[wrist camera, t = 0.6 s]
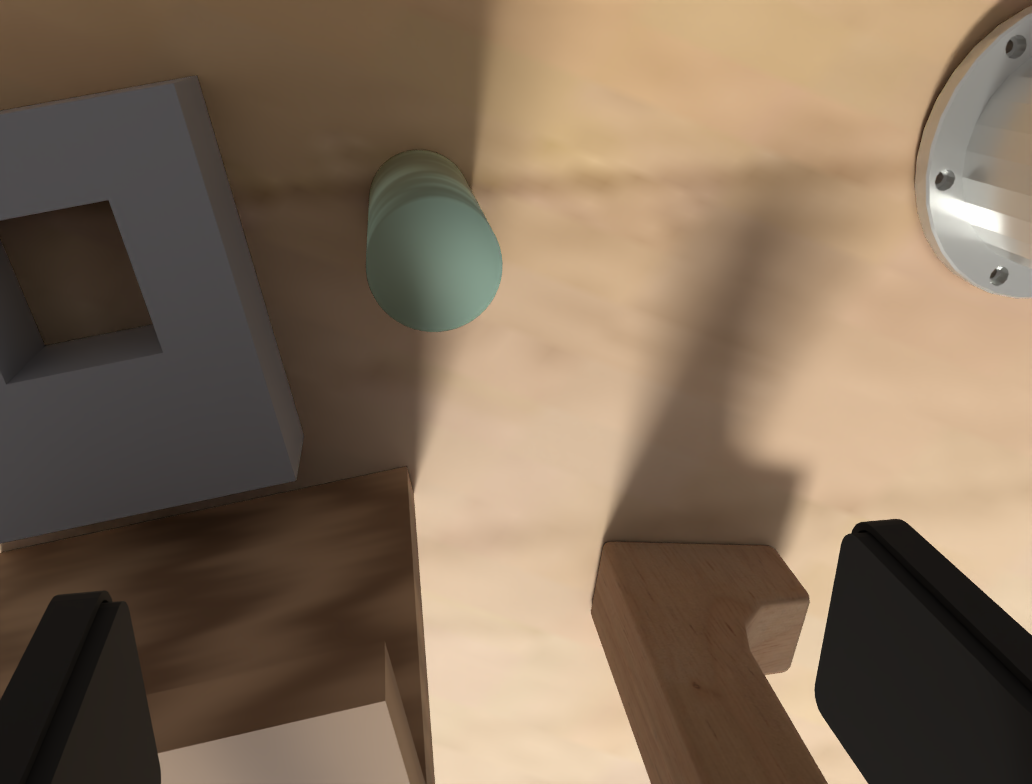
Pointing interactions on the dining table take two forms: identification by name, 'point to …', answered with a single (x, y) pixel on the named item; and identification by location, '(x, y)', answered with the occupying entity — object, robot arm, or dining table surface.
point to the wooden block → (704, 659)
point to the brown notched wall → (261, 632)
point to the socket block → (143, 350)
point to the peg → (429, 244)
